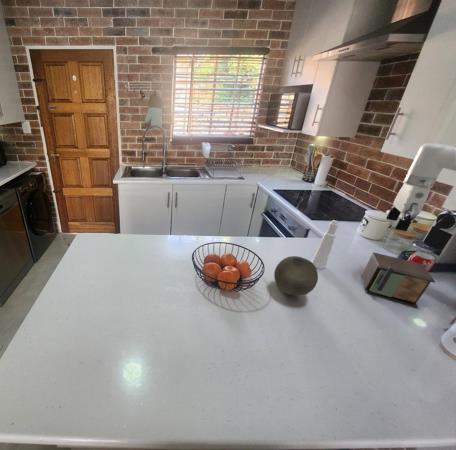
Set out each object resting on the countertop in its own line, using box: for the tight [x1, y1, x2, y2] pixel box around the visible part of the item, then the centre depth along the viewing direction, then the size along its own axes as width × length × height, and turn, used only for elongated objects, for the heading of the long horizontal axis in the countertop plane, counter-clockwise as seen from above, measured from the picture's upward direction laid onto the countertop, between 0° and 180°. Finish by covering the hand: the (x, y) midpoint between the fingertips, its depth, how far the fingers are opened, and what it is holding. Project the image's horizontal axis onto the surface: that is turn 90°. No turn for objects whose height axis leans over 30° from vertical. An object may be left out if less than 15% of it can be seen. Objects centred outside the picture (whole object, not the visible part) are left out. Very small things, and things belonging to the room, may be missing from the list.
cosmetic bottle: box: [310, 219, 340, 270], centre depth 106 cm, size 6×6×22 cm
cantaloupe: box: [273, 255, 319, 297], centre depth 90 cm, size 14×14×15 cm
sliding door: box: [370, 266, 404, 297], centre depth 89 cm, size 6×4×13 cm, turn 61°
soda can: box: [406, 251, 436, 273], centre depth 101 cm, size 7×7×12 cm
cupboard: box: [360, 252, 436, 309], centre depth 94 cm, size 15×12×12 cm
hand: (395, 224), depth 93 cm, fingers open, 9 cm apart
